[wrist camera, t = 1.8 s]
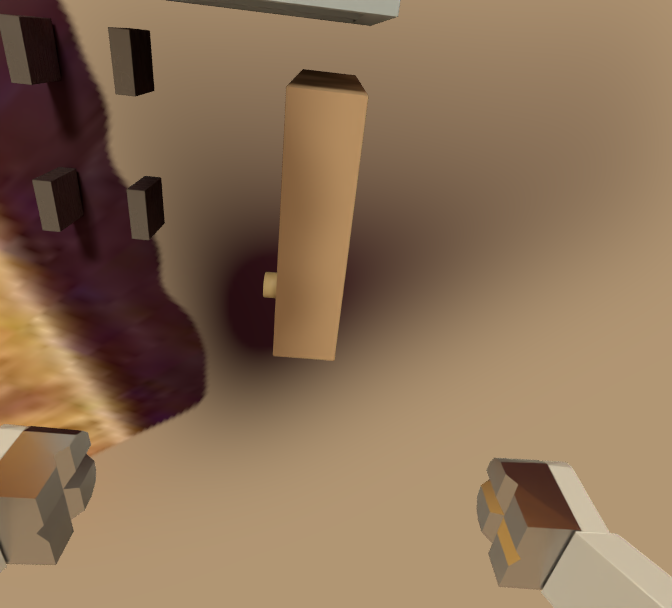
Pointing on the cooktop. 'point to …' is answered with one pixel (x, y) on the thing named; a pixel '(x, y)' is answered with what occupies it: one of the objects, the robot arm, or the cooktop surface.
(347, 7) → the cabinet
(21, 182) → the cooktop surface
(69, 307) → the cooktop surface
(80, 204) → the hinge clips
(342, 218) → the door
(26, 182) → the cooktop surface
